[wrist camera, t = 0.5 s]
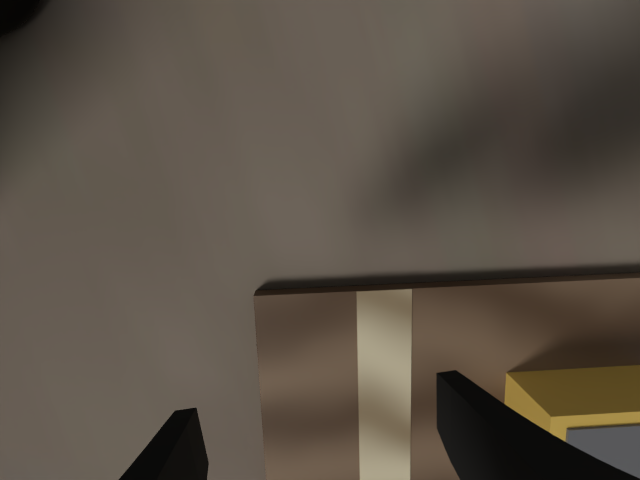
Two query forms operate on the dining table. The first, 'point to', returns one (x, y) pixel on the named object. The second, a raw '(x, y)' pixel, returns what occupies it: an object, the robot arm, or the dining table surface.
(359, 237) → the dining table surface
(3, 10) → the supplement bottle
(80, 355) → the dining table surface
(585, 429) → the block
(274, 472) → the board
